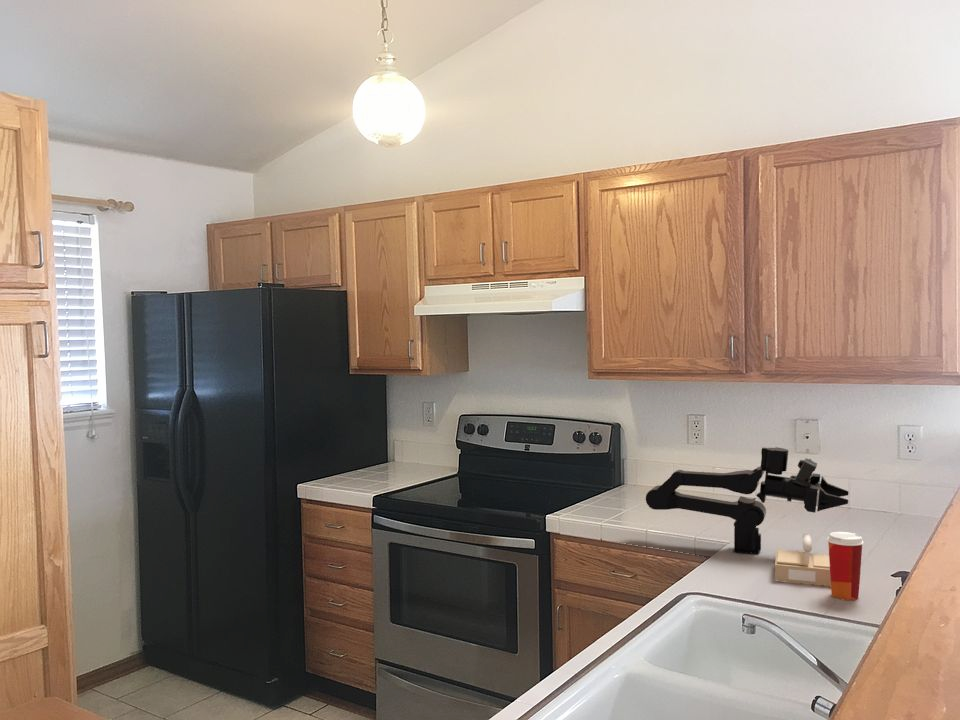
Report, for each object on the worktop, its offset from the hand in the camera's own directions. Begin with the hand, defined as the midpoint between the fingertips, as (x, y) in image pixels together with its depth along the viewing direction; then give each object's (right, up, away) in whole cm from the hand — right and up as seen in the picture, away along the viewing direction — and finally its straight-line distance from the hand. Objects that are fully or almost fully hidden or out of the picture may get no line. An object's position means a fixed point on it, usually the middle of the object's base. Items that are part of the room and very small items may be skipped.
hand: (848, 497), depth 213 cm
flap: (-18, -13, -11) cm, 25 cm away
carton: (-15, -17, -12) cm, 26 cm away
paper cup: (-13, -18, -27) cm, 35 cm away
